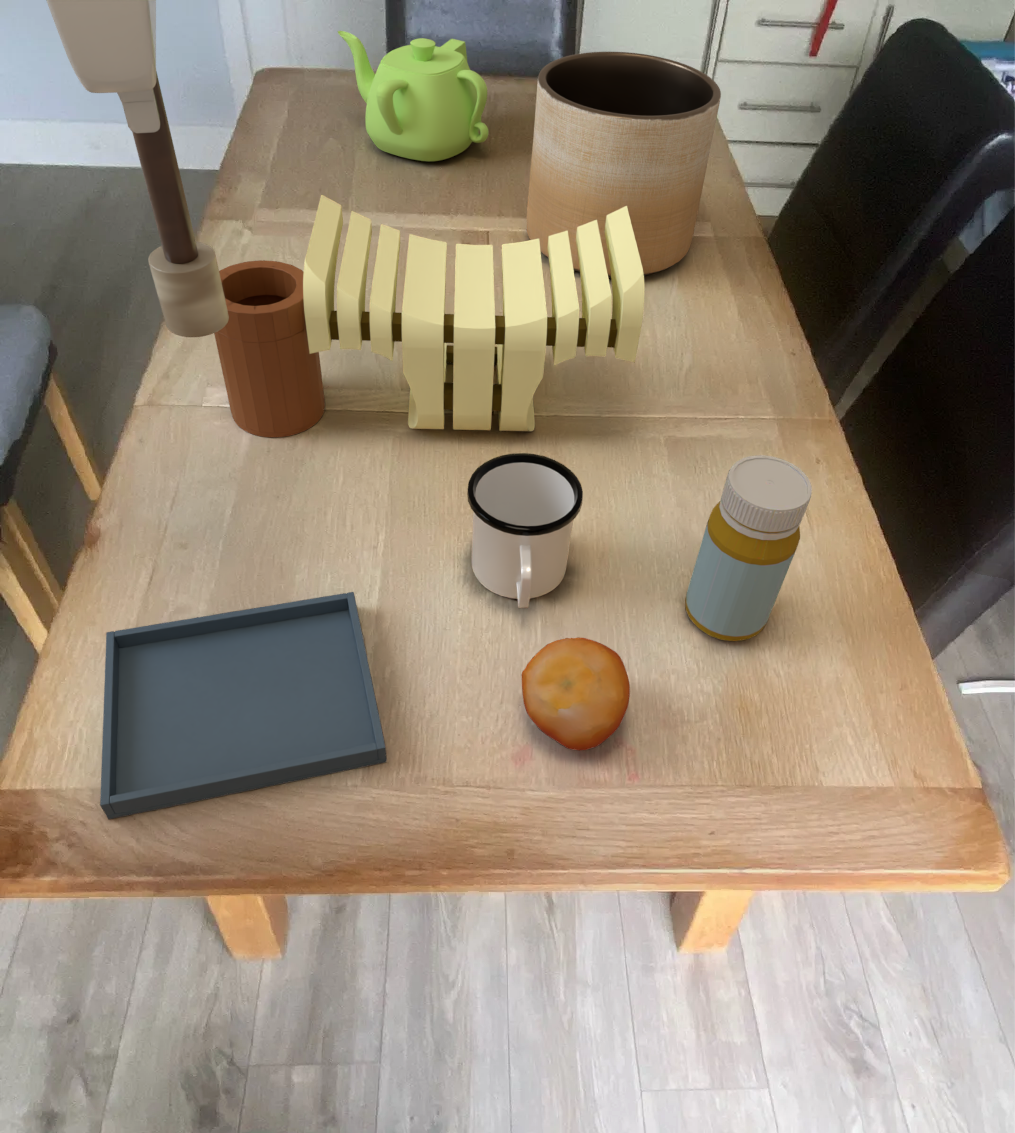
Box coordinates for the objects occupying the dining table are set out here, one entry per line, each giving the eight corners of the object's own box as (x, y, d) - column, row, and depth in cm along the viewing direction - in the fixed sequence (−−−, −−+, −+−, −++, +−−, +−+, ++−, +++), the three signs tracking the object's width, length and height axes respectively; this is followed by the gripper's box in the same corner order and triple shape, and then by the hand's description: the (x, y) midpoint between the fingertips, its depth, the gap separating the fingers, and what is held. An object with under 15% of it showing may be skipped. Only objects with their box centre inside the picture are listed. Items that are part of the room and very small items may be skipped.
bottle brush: (166, 341, 63) (82, 41, 49) (165, 307, 66) (86, 15, 52) (230, 334, 64) (166, 37, 50) (227, 301, 67) (165, 12, 53)
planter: (652, 199, 131) (678, 46, 116) (716, 276, 117) (755, 113, 102) (506, 210, 126) (514, 53, 111) (554, 292, 112) (570, 124, 97)
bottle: (667, 613, 77) (704, 480, 66) (713, 571, 81) (755, 439, 70) (736, 659, 74) (786, 529, 63) (780, 613, 78) (835, 482, 67)
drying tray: (108, 819, 62) (99, 805, 60) (113, 647, 72) (106, 631, 70) (386, 762, 66) (385, 747, 64) (355, 607, 76) (353, 591, 74)
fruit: (662, 689, 70) (645, 667, 62) (602, 774, 69) (578, 761, 62) (580, 633, 73) (555, 606, 66) (522, 713, 72) (491, 694, 65)
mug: (465, 526, 83) (467, 450, 76) (568, 529, 83) (578, 453, 77) (464, 628, 75) (466, 553, 68) (578, 630, 75) (591, 555, 69)
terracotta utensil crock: (235, 443, 89) (207, 318, 79) (229, 387, 95) (203, 264, 85) (330, 431, 91) (316, 307, 81) (319, 377, 97) (304, 256, 87)
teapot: (499, 163, 137) (503, 59, 126) (368, 174, 132) (361, 67, 121) (465, 115, 149) (466, 17, 138) (344, 124, 144) (336, 22, 133)
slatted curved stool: (321, 441, 90) (300, 278, 77) (337, 350, 101) (321, 194, 88) (619, 448, 92) (648, 289, 79) (603, 358, 103) (626, 205, 90)
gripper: (25, -210, 51) (98, 58, 61) (-21, -132, 37) (82, 195, 48) (143, -209, 52) (195, 54, 62) (139, -133, 39) (206, 185, 49)
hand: (146, 116), depth 55 cm, fingers closed on bottle brush, 2 cm apart
